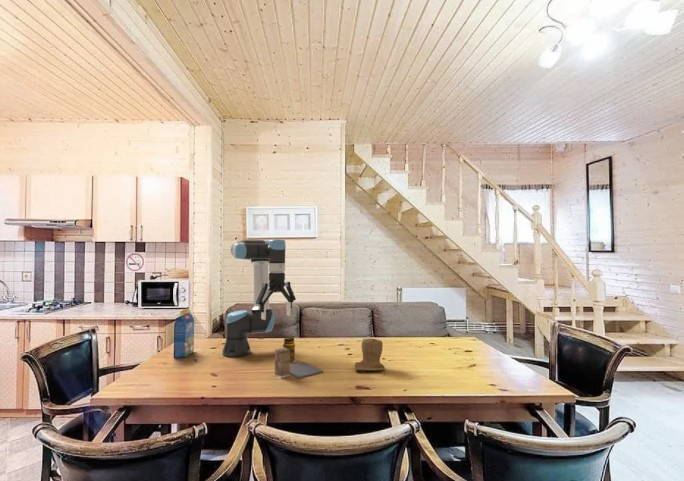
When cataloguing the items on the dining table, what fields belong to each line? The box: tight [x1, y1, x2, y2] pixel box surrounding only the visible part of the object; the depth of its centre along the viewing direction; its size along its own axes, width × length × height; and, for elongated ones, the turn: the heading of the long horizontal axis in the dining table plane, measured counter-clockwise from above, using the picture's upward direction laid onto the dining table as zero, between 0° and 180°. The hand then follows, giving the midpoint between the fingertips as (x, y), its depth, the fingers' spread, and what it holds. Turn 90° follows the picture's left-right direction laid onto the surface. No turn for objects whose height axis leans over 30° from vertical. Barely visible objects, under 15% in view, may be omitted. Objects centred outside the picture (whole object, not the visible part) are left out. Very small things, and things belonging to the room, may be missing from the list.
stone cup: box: [353, 337, 386, 372], centre depth 176 cm, size 15×12×15 cm
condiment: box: [282, 336, 298, 364], centre depth 188 cm, size 7×8×12 cm
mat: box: [290, 361, 324, 379], centre depth 173 cm, size 17×14×1 cm
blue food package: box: [173, 307, 195, 359], centre depth 197 cm, size 6×12×25 cm, turn 1°
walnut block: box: [274, 347, 291, 379], centre depth 166 cm, size 5×5×12 cm
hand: (276, 317), depth 167 cm, fingers open, 13 cm apart
